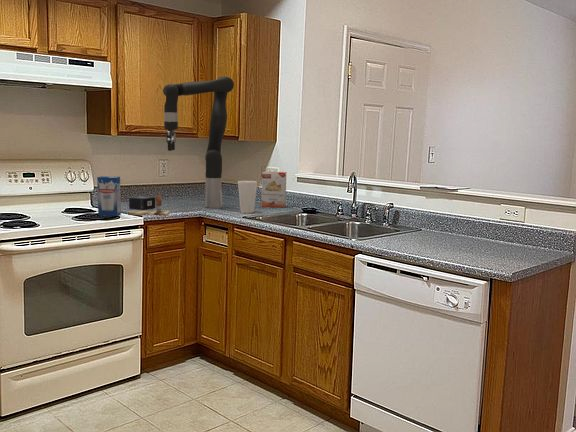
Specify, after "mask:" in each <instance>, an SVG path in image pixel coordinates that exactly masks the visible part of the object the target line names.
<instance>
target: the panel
mask: <svg viewBox="0 0 576 432" xmlns="http://www.w3.org/2000/svg"><path fill="white" fill-rule="evenodd" d="M145 214H151V215H150V216H168V215H170V214H171V211H170V210H161V212H156V210H131V211H130V212H128V216H146V215H145Z"/></svg>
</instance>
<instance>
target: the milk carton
mask: <svg viewBox="0 0 576 432" xmlns="http://www.w3.org/2000/svg"><path fill="white" fill-rule="evenodd" d="M96 178H97V211H98V213H97V214H98V215H100V216H99V217H104V216H103V215H107V216H106V217H112V216H118V217H119V216H122V212H121V211H122V209H121V207H122V205H121V176H103V175H102V176H97V177H96ZM98 215H97V216H98ZM101 215H102V216H101Z"/></svg>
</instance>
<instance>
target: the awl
mask: <svg viewBox="0 0 576 432" xmlns="http://www.w3.org/2000/svg"><path fill="white" fill-rule="evenodd" d="M155 208H156V209H155V211H156V212H161V211H162V195H160V194H156V195H155Z"/></svg>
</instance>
